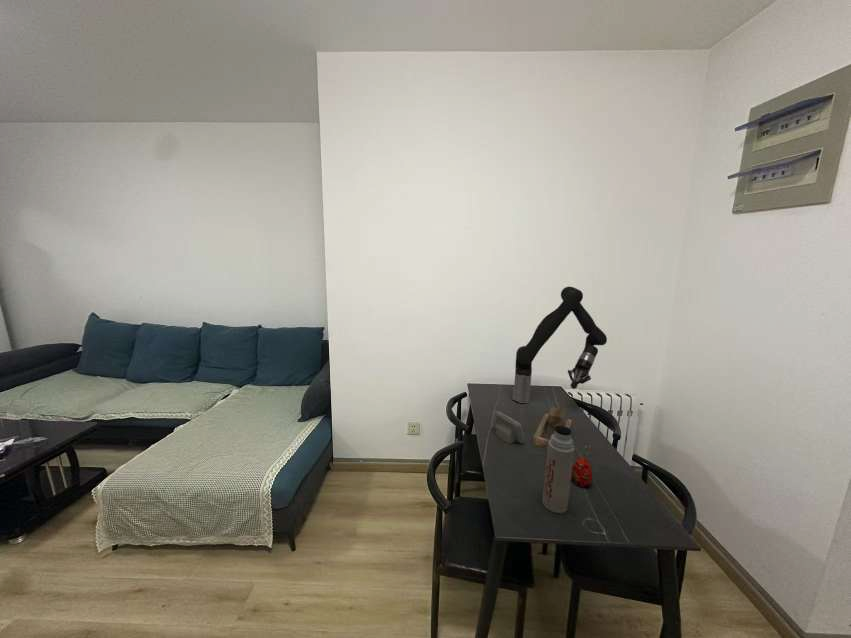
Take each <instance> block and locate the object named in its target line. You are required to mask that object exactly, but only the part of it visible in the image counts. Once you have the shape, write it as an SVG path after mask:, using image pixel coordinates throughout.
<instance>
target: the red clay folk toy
mask: <svg viewBox="0 0 851 638" xmlns="http://www.w3.org/2000/svg"><path fill="white" fill-rule="evenodd" d="M584 449H587V451H586V455H585V458H584V459H583V458H582V457H578V458H577V459H576V461H575V462H574V463H573V465H572V473H571V481H573V482H574V484H575V485H576V486H579V488H585V487H589V486H590V485H591V483H592V480H593V471H592V467H591V464H590V463H589V462H588V458H587V457H589V451H590V449H591V444H589V446H587V445H584Z"/></svg>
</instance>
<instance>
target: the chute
mask: <svg viewBox="0 0 851 638" xmlns="http://www.w3.org/2000/svg"><path fill="white" fill-rule="evenodd" d="M548 419H549V413H544V415H543V417H542V418H541V421H540V422H539V425H538V427H537V430H536V431H535V433H534V435H533V440H532V446H536V447H537V446H538V447H540V448H544V449H546V450H548V442H549V440H550V439H548V438H546V437H545V438H544V437H542V436H543V434H544V432H545V429H546V427H547V425H548V423H547V422H548ZM572 422H573V421H572V419H569V418H567V419H566V423H565V425H564V426H565V427H567V428H569V429H570V430H571V427H572ZM546 424H547V425H546Z"/></svg>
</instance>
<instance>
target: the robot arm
mask: <svg viewBox="0 0 851 638" xmlns="http://www.w3.org/2000/svg"><path fill="white" fill-rule="evenodd" d="M560 297H561V300H562V301H561V303H560V304H559V305H558V307H556V309H554V310H552V311H551V312H550V313H548V314H547V315H545V316H544V317H543V318H542V320H541V321H540V323H539V324H538V325H537V326H536V329H535V331H534V333H533V335H532V337H531V338H530V340H529V341H528V342H527V344H525V345H522V346H520V347H518V349H517V351H516V353H515V372H514V384H513V385H512V395H511V396H512V398H511V399H514V400H515V401H517V402H521V403H526V402H530V395H531V385H532V383H531V382H532V373H533V370H532V369H533V368H532V366H533V365H532V363H533V361H534V360H535V358H536V356H537V355H538V354H539V351H540V350H541V348H542V347H543V346H544V345H545V344H546V343H547V342H548V341H549V339H551V337H552V336H553V335H554V333H555V332H556V331H557V330H558V329H559V327H560V326H561V324H562V323H563V322H564V321H565V320H566V318H567V317H568V316H569V315H570V314H571V312H572V314H573V315H574V317H575V318H576V319H577V321H578V324H579V325H580V327H581V328H582V330H583V331H584V332H585V334H587V336H586V337H585V344H584V349H583V351H582V353H581V354H580V355H579V357H578V359H577V361H576V363H575V364H574V365H575V366H574V367H573V368H572V370H571V369H568V370H567V373H568V377H569V379H570V381H571V383H570V387H571V389H573V390H575V389H577V387H578V386H579V384H581V385H583V384H585V383H586V382H589V381H590V380H592V377H591V375H590V371H591V368H592V366H593V365H594V362H595V359H596V357H597V355H598V352H599V349H598V348H597V347H596V346H605V345H606V344H607V342H608V337H607V335H606V333H605V332H604V331H603V330H602V329H601V328H599V327H598V326H597V324H596V322H595V321H594V319H593V317H592V316H591V315H590V313H589V312H588V311H587V309H585V307H584V306H583V305H582V303H581V302H583V301H582V300H583V297H584V294H583V292H582V291H581V290H580V289H578V288H576V287H573V286H566V287H563V289H562V290H561V291H560ZM515 401H514V402H515ZM517 402H516V403H517Z"/></svg>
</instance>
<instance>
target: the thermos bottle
mask: <svg viewBox="0 0 851 638" xmlns="http://www.w3.org/2000/svg"><path fill="white" fill-rule="evenodd" d="M571 434H572V430H571V428H570V429H569V428H567V427H565V425H563V426H556V427H555V433H552V435H551V436H550V439H549V442H548V449H547V451H546V452H547V453H546V454H547V455H546V464H545V474H544V481H543V492H542V504H543V506H544V507H545V508H546V509H547V510H549V511H551V512H553V513H557V514H563V513H565V512H567V510H568V506H569V497H570V488H571V487H570V486H571V481H572V480H571V473H572V466H573V464H574V463H573V462H574V456H575V455H574V454H575V445H574V441H573V438H572V437H571Z"/></svg>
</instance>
